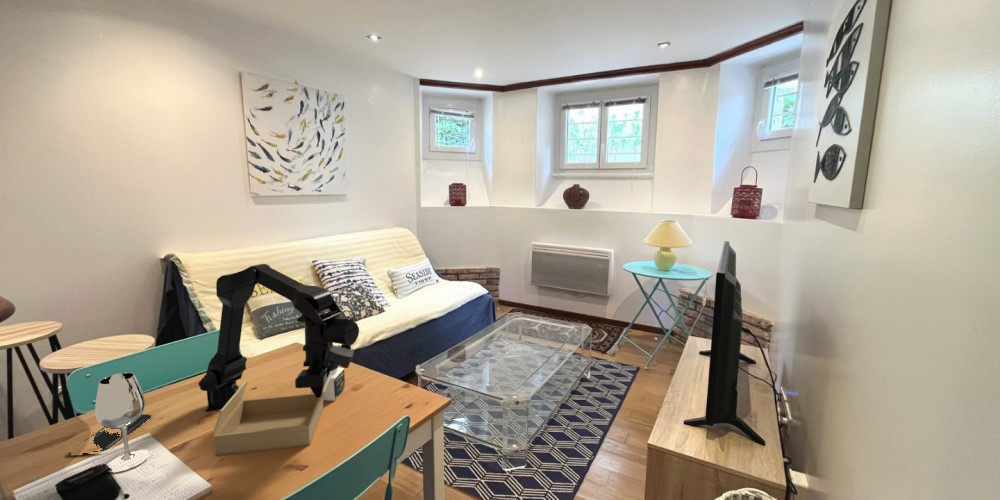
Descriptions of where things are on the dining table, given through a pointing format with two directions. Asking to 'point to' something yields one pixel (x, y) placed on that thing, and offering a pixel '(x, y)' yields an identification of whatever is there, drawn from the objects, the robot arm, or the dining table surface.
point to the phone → (109, 440)
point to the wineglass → (119, 404)
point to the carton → (269, 424)
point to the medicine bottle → (334, 384)
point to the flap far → (320, 399)
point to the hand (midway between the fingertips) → (318, 396)
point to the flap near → (230, 406)
